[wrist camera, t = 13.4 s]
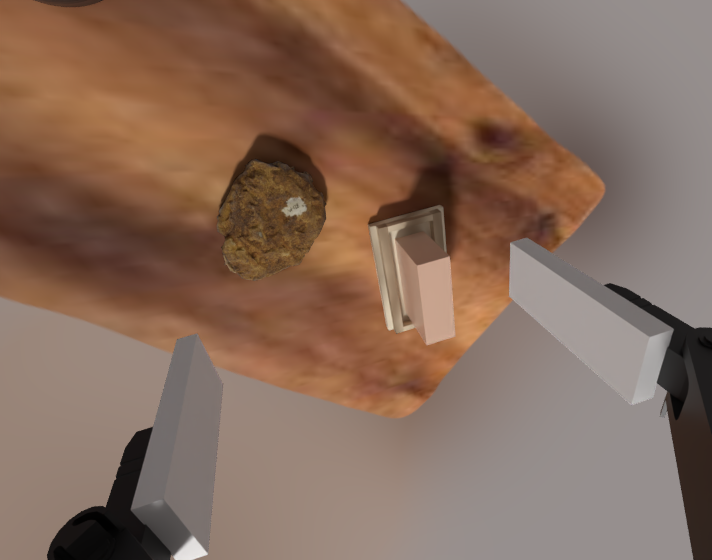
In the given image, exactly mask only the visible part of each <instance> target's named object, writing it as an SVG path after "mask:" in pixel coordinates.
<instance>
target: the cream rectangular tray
mask: <svg viewBox="0 0 712 560" xmlns="http://www.w3.org/2000/svg"><path fill="white" fill-rule="evenodd" d="M368 228H369V234H370V239H371V245H372V250H373V256H374V261H375V266H376V272H377V277H378V283H379V288H380V293H381V299H382V304H383V310H384V315H385V320H386V326H387V328H388V330H392V329H394V330H395V332H396V334H397V333H400V332H404V331H406V330H409V329H412V328H415V326H414V324H413V323H412V321H411V320H410V318H409V316H408V315H407V313H406V311H405V304H404V298H403V291H402V284H401V277H400V271H399V264H398V257H397V251H396V244H395V239H397V238H400V237H404V236H407V235H411V234H415V233H418V232H422V231H424V232H425V233H426V234H427V235H428V236H429V237H430V238H431V239H432V240H433V241H434V242H435V243H436V244H437V245H438V246H440V247H441V248H442V249H443V250H444V251H445V252H446V238H445V225H444V211H443V207H442V206H441V205H437V206H434V207H430V208H426V209H423V210H419V211H415V212H412V213H408V214H404V215H401V216H397V217H393V218H390V219H386V220H382V221H379V222H375V223H371V224H368ZM446 253H447V252H446Z"/></svg>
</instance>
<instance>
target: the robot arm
mask: <svg viewBox="0 0 712 560" xmlns="http://www.w3.org/2000/svg"><path fill="white" fill-rule="evenodd" d="M35 1H38V2H41V3H45V4H49V5H54V6H61V7H81V6H87V5H91V4H95V3H98V2H100V1H102V0H35ZM509 297H510V298H512V299H513V300H514V301H515V302H516V303H517V304H518V305H520V306H521V307H522V308H523V309H524V310H525V311H526V312H527V313H529V314H530V315H531V316H532V317H533V318H534V319H535V320H536V321H537V322H539V323H540V324H541V325H542V326H543V327H544V328H545V329H546V330H547V331H549V332H550V333H551V334H552V335H553V336H554V337H555V338H556V339H558V340H559V341H560V342H561V343H562V344H563V345H564V346H565V347H567V348H568V349H569V350H570V351H571V352H572V353H573V354H574V355H576V356H577V357H578V358H579V359H580V360H581V361H582V362H583V363H584V364H586V365H587V366H588V367H589V368H590V369H591V370H592V371H593V372H595V373H596V374H597V375H598V376H599V377H600V378H601V379H602V380H604V381H605V382H606V383H607V384H608V385H609V386H610V387H612V388H613V389H614V390H615V391H616V392H617V393H618V394H619V395H621V396H622V397H623V398H624V399H625V400H626V401H627V402H628V403H629V404H630V405H633V404H636V403H639V402H642V401H644V400H648V399H650V398H653V396H654V392H655V389H656V386H657V383H658V384H659V385H660V386H661V387H663V388H664V389H665V390H667V394H666V397H665V400H664V404H663V406H662V409H661V414H660V417H665V415H666V412H667V411H668V417H669V422H670V428H671V434H672V440H673V445H674V451H675V457H676V462H677V468H678V474H679V479H680V485H681V490H682V497H683V502H684V507H685V513H686V519H687V525H688V530H689V536H690V542H691V547H692V553H693V559H694V560H712V328H696V329H694V328H693V327H691V326H689V325H688V324H686V323H684V322H682V321H681V320H679V319H677V318H676V317H674V316H672V315H671V314H669V313H667V312H666V311H664V310H662V309H661V308H659V307H657V306H655V305H652V304H651V303H650V302H649V301H647V300H645V299H644V298H642V299H641V297H640V296H639V295H637V294H635V293H633V292H632V291H630V290H628V289H626V288H623V287H620V286H617V285H614V284H611V283H609V284H606V285H602V284H601V283H599V282H597V281H596V280H594V279H593V278H591V277H589V276H588V275H586V274H585V273H583V272H581V271H580V270H578V269H577V268H575V267H573V266H572V265H570V264H568V263H567V262H565V261H564V260H562V259H560V258H559V257H557V256H556V255H554V254H552V253H551V252H549V251H548V250H546V249H544V248H543V247H541V246H540V245H538V244H536V243H535V242H533V241H531V240H530V239H528V238H525V239H521V240H518V241H514V242H511V243H510V285H509ZM222 391H223V383H222V381H221V379H220V377H219V375H218V373H217V371H216V369H215V367H214V365H213V363H212V361H211V359H210V357H209V356H208V354H207V352H206V350H205V348H204V346H203V344H202V342H201V340H200V338H199V336H198V334H194V335H190V336H187V337H184V338H180V339H177V341H176V345H175V349H174V352H173V356H172V360H171V364H170V367H169V371H168V374H167V378H166V382H165V385H164V389H163V393H162V396H161V400H160V404H159V407H158V411H157V415H156V419H155V422H154V426H153V427H151V428H148V429H144V430H141V431H138V432H136V433H135V435H134V436H133V438H132V439H131V441H130V442H129V443H128V445H127V446H126V448H125V450H124V453H123V456H122V459H121V462H120V465H121V466H120V467H119V468H118V471H117V475H116V480H115V481H114V484H113V487H112V490H111V493H110V496H109V499H108V502H107V505H106V508H105V507H103V506H95V507H91V508H88V509H86V510H84V511H81V512H80V513H78V514H77V515H76V516H75V517H73V518H72V519H70V520H69V521H68V522H67V523H66V524H65V525H64V526H63V527H62V528H61V529H60V530H59V532H58V533H57V535H56V536H55V538H54V539H53V541H52V542H51V545H50V548H49V551H48V554H47V558H48V560H170V557H171V555H172V556H173V557H174V558H175V559H176V560H193V559H196V558H199V557H202V556H204V555H207V554H208V549H209V548H208V547H209V538H210V526H211V515H212V503H213V492H214V481H215V469H216V459H217V447H218V437H219V425H220V413H221V403H222Z"/></svg>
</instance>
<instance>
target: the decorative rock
mask: <svg viewBox="0 0 712 560" xmlns="http://www.w3.org/2000/svg"><path fill="white" fill-rule="evenodd" d="M294 169H295V167H293V166H292V167H289V166H288V165H287V164H284V163H282V162H280V161H275V162H274V163H270V164H267V163H264V162H262V161H260V160H257V159H254V160H251V161H250V162H249V163H248V164H247V165H246V168H245V171H244V172H243V173H242V174H240V175H239V176H238V177H237V179H236V180H235V181H234V183H233V185H232V187H231V189H230V191H229V194H228V196H227V198H226V200H225V202H224V204H223V205H222V207H221V209H220V211H219V213H220V214H219V215H218V216H217V219H218V223H217V230H218V232H219V233H221V234H222V235H224V236H225V242H224V245H223V246H222V247H221V248H222V251H223V257H224V260H225V264H224V265H227V266H228V268H229V269H230V271H232V272H234V273H237V274H238V275H239V276H240V277H241V278H242V279H247V280H253V281H255V280H261V279H263V278H265V277H269V276H272V275H274V274H276V273H278V272H280V271H281V270H283V269H286V268H288V267H290V266H295V265H299V264H300V263H301V262H302V259H303V258H304V256H305V254H306V253H308V252H309V250H310V247H311V246H312V244H313V242H314V240H315V239H316V238H317V237H318V235H319V234H320V232H321V229H322V227H323V225H324V222H325V220H326V212H325V205H326V203H325V202H324V197H323V194H322V193H321V192H318V191H317V190H316V189H315V188H314V186H313V184H312V182H313V180H312V177H311V175H309V173H308V172H303V173H300V172H297V171H295V170H294Z"/></svg>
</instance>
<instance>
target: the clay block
mask: <svg viewBox="0 0 712 560" xmlns="http://www.w3.org/2000/svg"><path fill="white" fill-rule="evenodd" d="M395 244H396V251H397V257H398V264H399V271H400V277H401V284H402V291H403V298H404V304H405V311H406V313H407V315H408V316H409V318H410V320H411V321H412V323H413V324H414V326H415V328H416V329H417V331H418V332H419V334H420V336H421V337H422V339H423V340H424V342H425V344H426V345H429V344H432V343H436V342H439V341H442V340H445V339H448V338H452V337H455V324H454V310H453V295H452V281H451V266H450V256H449V255H448V254H447V253H446V252H445V251H444V250H443V249H442V248H441V247H440V246H438V245H437V244H436V243H435V242H434V241H433V240H432V239H431V238H430V237H429V236H428V235H427V234H426V233H425V232H424V231H422V232H418V233H415V234H411V235H407V236H404V237H400V238H397V239H395Z"/></svg>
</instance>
